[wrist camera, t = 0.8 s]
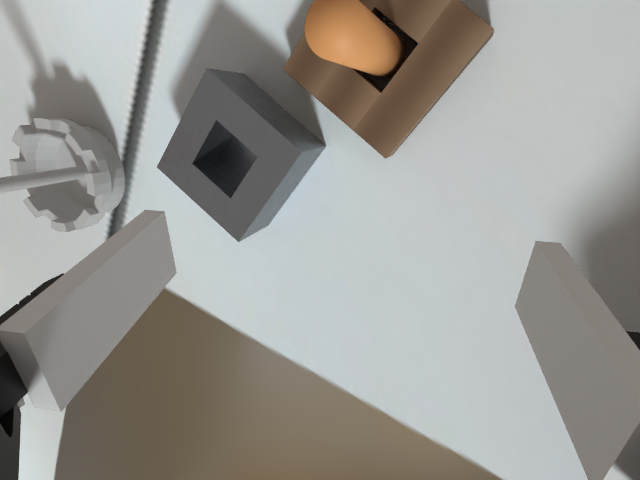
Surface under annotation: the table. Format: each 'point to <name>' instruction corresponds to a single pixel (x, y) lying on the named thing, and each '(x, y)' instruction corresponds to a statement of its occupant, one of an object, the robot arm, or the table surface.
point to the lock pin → (353, 37)
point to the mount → (410, 80)
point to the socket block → (238, 153)
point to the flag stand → (66, 172)
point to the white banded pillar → (21, 403)
